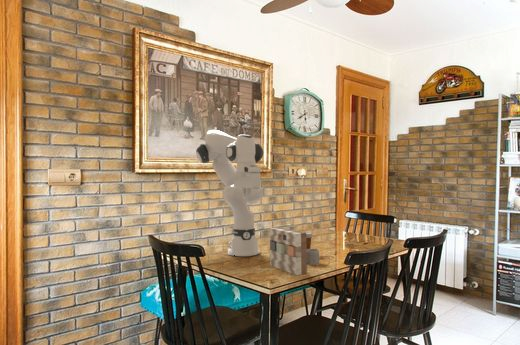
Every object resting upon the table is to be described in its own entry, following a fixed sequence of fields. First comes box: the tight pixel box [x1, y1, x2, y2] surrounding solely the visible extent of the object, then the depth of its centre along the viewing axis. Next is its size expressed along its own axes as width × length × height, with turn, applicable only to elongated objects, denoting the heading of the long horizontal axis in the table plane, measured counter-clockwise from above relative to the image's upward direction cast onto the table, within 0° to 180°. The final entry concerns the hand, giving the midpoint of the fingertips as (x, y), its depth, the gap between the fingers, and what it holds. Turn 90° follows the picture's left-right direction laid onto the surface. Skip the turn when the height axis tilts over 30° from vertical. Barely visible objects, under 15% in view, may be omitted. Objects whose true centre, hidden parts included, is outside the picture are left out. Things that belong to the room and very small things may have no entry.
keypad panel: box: [269, 227, 308, 276], centre depth 183 cm, size 22×6×18 cm, turn 30°
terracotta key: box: [288, 245, 295, 256], centre depth 176 cm, size 4×3×4 cm
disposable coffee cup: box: [304, 231, 313, 249], centre depth 214 cm, size 10×10×12 cm
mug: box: [307, 248, 320, 266], centre depth 194 cm, size 10×7×7 cm
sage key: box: [276, 243, 286, 254], centre depth 182 cm, size 4×3×4 cm
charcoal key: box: [269, 240, 277, 251], centre depth 189 cm, size 4×3×4 cm
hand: (246, 197), depth 186 cm, fingers closed
